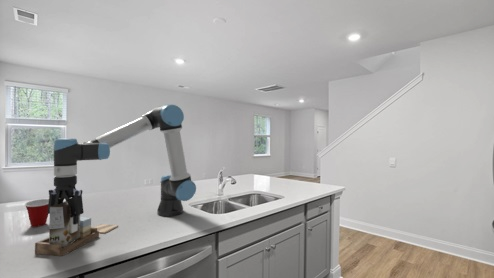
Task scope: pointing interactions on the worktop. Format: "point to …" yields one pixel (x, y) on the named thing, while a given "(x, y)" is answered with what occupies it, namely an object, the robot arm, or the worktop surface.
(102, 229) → the cork trivet
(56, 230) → the coffee box
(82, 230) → the offcut block middle
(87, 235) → the offcut block bottom
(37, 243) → the walnut rack
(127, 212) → the worktop surface
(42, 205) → the plastic cup
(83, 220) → the offcut block top
